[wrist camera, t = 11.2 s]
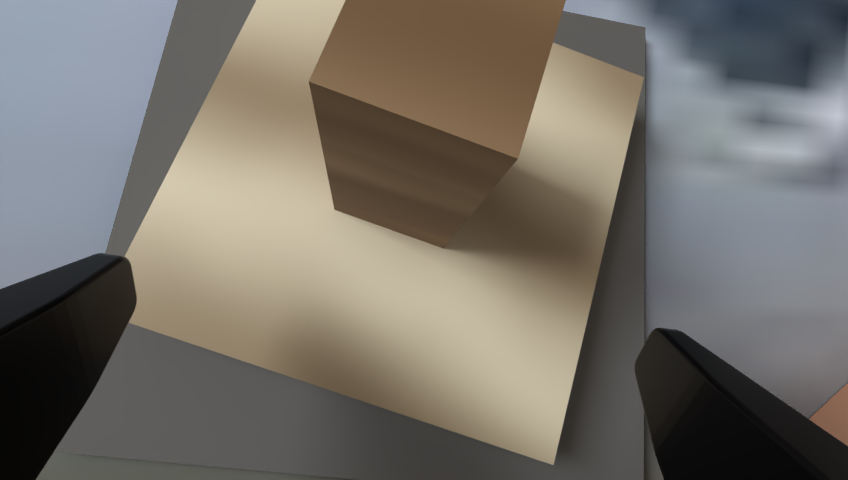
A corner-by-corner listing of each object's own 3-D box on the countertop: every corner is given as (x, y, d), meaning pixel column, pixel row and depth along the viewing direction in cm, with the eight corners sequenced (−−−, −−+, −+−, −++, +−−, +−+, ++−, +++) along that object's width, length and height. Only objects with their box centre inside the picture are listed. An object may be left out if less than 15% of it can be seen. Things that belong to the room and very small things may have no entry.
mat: (631, 499, 14) (644, 505, 13) (63, 446, 12) (48, 451, 12) (636, 37, 18) (645, 27, 17) (201, -48, 16) (196, -63, 15)
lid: (525, 447, 13) (755, 591, 5) (136, 317, 13) (-219, 271, 5) (610, 109, 16) (839, -110, 8) (296, -9, 16) (231, -362, 8)
